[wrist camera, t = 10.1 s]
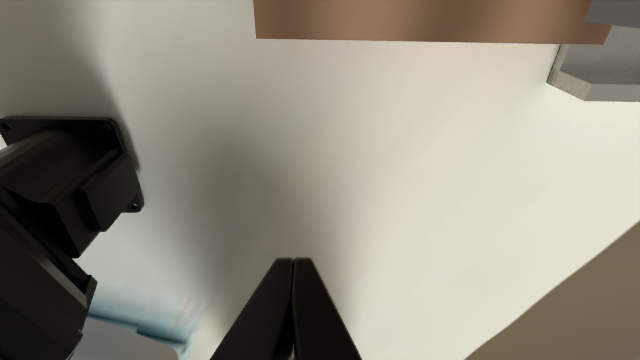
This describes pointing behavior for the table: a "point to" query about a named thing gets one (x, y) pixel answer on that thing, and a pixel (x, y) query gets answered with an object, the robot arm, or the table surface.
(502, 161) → the table surface
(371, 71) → the table surface
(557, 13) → the board
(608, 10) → the grey and beige block
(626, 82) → the tray
